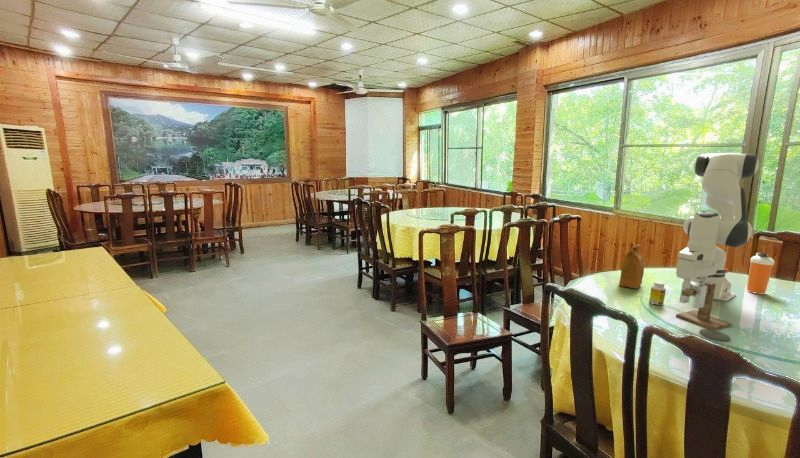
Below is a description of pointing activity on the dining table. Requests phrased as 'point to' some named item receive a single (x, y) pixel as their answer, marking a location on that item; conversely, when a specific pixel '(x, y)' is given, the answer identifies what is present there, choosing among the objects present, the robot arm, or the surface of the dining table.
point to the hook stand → (703, 311)
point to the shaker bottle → (759, 272)
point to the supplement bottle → (657, 293)
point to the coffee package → (632, 269)
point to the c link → (700, 294)
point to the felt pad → (714, 335)
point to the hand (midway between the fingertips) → (694, 287)
